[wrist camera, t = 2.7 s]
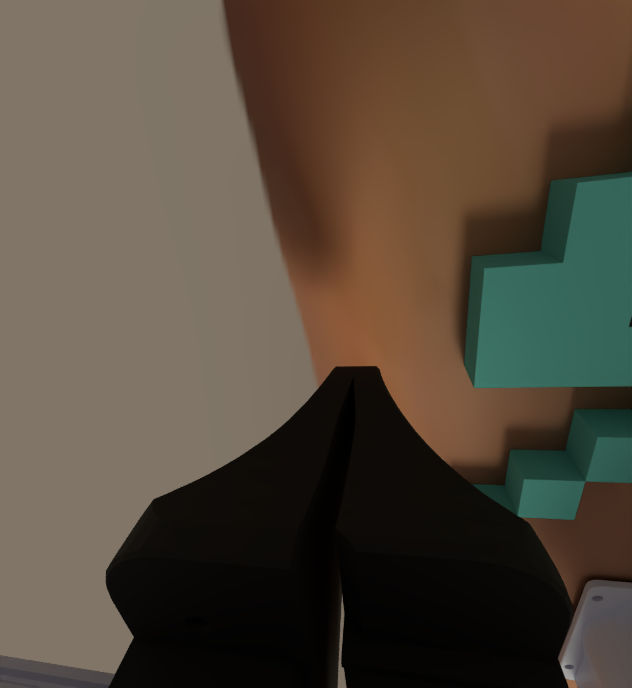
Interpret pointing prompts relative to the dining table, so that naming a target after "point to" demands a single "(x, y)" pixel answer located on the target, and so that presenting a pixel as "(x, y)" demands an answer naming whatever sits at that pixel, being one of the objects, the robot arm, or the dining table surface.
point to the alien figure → (561, 338)
